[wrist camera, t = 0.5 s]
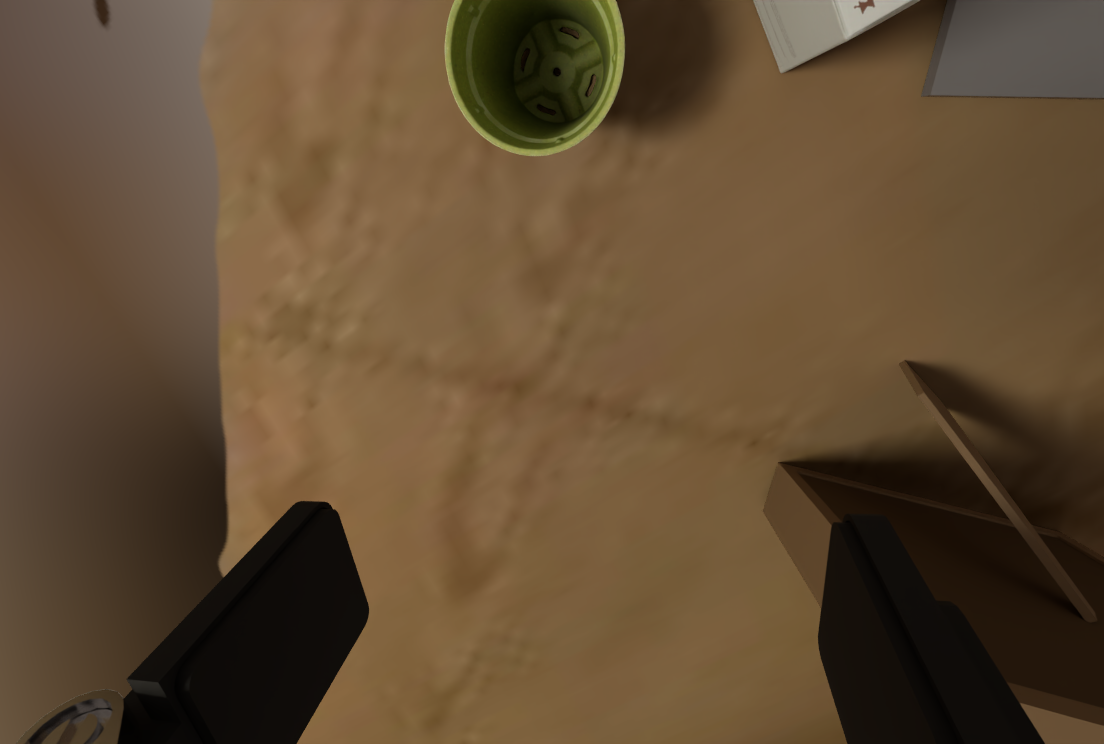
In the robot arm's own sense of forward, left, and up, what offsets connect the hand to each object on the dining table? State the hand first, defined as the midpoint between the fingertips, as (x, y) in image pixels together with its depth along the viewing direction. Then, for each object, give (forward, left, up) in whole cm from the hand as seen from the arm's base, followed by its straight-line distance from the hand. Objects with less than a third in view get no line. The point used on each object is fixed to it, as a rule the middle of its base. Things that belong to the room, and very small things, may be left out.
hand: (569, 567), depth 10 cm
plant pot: (-11, -6, -32) cm, 34 cm away
